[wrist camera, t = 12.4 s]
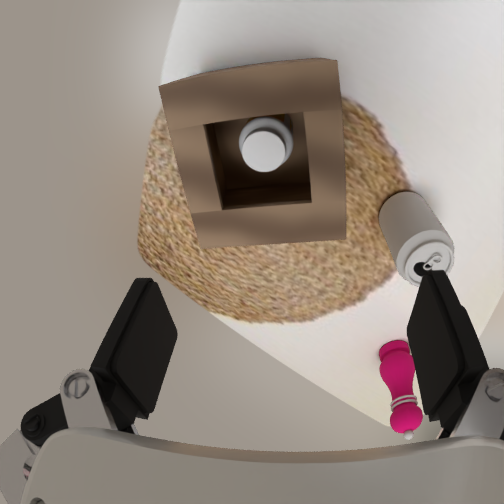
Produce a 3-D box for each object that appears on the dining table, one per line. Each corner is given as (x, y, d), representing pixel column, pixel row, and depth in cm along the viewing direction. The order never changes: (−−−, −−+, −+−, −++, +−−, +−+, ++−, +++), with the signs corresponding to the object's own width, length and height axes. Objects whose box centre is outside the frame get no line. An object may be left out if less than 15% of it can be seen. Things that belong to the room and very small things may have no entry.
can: (366, 219, 42) (386, 276, 32) (399, 178, 38) (432, 226, 28) (403, 244, 43) (427, 301, 34) (435, 207, 39) (470, 258, 29)
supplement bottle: (238, 124, 36) (221, 148, 28) (272, 97, 33) (266, 111, 25) (267, 157, 38) (259, 190, 30) (302, 131, 35) (305, 157, 27)
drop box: (200, 73, 33) (158, 86, 22) (320, 57, 30) (336, 60, 20) (224, 192, 42) (200, 248, 31) (331, 183, 39) (346, 239, 29)
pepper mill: (369, 356, 59) (380, 446, 43) (389, 335, 55) (407, 430, 39) (396, 361, 60) (410, 446, 44) (417, 341, 56) (437, 430, 39)
